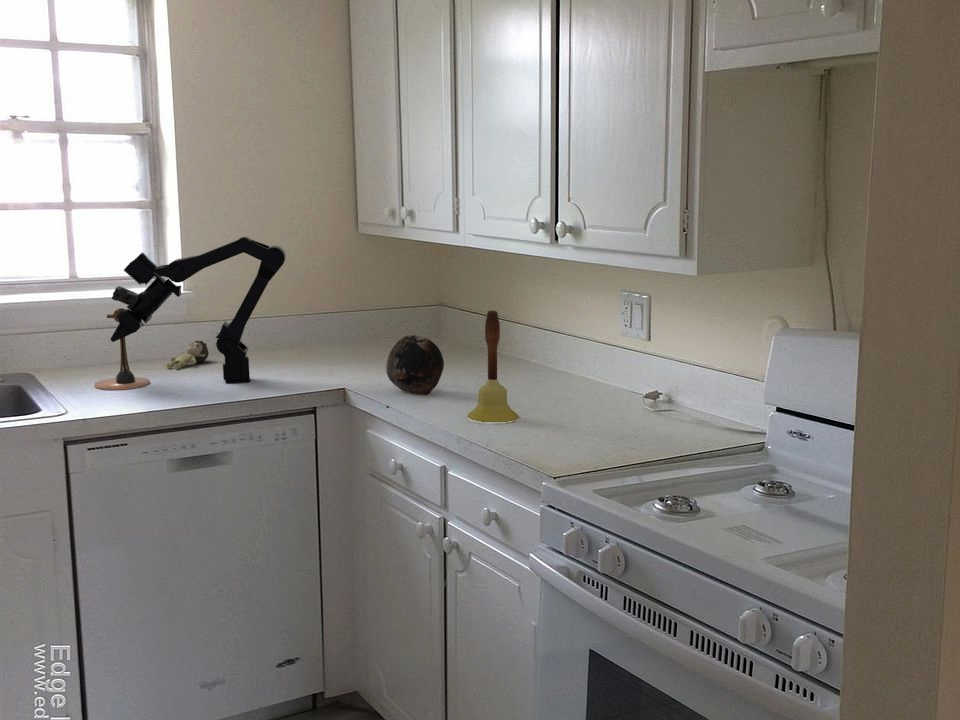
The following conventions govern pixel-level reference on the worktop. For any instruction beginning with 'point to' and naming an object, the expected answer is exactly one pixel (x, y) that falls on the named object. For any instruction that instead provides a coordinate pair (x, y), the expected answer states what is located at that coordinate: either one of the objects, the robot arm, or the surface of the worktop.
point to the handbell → (492, 381)
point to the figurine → (190, 355)
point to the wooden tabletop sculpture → (122, 357)
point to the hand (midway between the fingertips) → (113, 339)
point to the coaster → (112, 385)
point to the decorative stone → (415, 364)
